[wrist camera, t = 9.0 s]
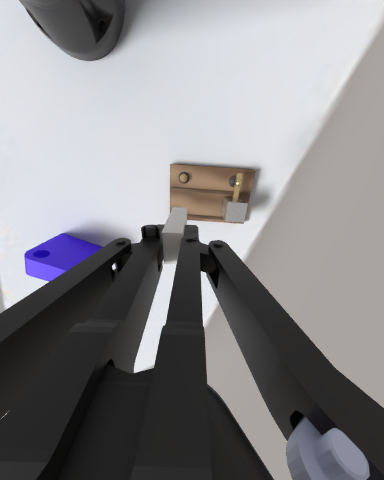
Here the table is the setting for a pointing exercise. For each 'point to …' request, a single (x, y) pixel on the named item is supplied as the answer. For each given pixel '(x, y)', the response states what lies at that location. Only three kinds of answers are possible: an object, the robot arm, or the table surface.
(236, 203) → the slider with brass pointer
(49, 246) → the bracket
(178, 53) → the table surface
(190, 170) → the wooden knob panel
